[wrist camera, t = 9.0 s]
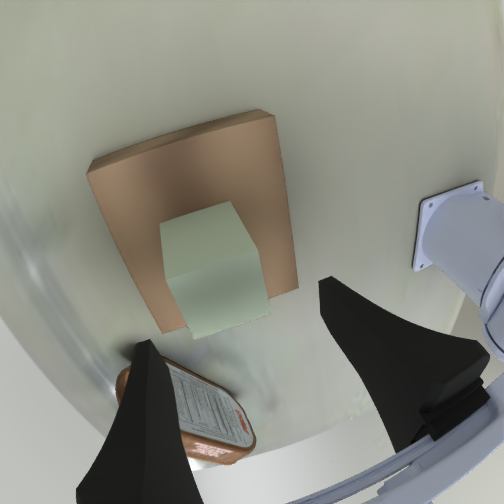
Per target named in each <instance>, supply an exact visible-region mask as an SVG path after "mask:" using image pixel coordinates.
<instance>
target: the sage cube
mask: <svg viewBox="0 0 504 504" xmlns="http://www.w3.org/2000/svg"><path fill="white" fill-rule="evenodd" d="M159 225H160V235H161V245H162V254H163V263H164V271H165V279H166V282H167V284H168V286H169V288H170V291H171V293H172V295H173V297H174V299H175V301H176V303H177V306H178V308H179V310H180V312H181V314H182V316H183V318H184V320H185V322H186V324H187V326H188V328H189V330H190V332H191V334H192V336H193V338H194V340H195V339H198V338H202V337H205V336H208V335H211V334H214V333H217V332H220V331H223V330H226V329H229V328H232V327H235V326H238V325H241V324H244V323H247V322H250V321H252V320H255V319H258V318H261V317H264V316H267V315H269V314H271V310H270V306H269V301H268V296H267V291H266V286H265V282H264V277H263V272H262V267H261V263H260V258H259V253H258V249H257V247H256V246H255V244H254V242H253V240H252V239H251V237H250V235H249V233H248V232H247V230H246V228H245V226H244V225H243V223H242V221H241V219H240V218H239V216H238V214H237V212H236V210H235V209H234V207H233V205H232V203H231V202H230V201H227V202H224V203H221V204H217V205H214V206H211V207H208V208H205V209H202V210H198V211H195V212H192V213H189V214H186V215H183V216H180V217H177V218H174V219H171V220H168V221H165V222H162V223H159Z"/></svg>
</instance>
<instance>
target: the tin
mask: <svg viewBox="0 0 504 504" xmlns="http://www.w3.org/2000/svg"><path fill="white" fill-rule="evenodd" d="M162 358H163V357H162ZM163 360H164V361H165V363H166V364H167V366H168V367H169V370H170V374H171V378H172V382H173V386H174V391H175V398H176V405H177V412H178V419H179V425H180V431H181V437H182V441H183V445H184V449H185V452H186V456H187V457H190V458H194V459H198V460H203V461H207V462H212V463H216V464H221V465H231V464H234V463H235V462H236V461H238V460H239V459H241V458H242V457H244V456H246V455H248V454H249V453H250V452H252V451H253V450H254V448H255V446H256V436H255V434H254V432H253V429H252V427H251V424H250V422H249V420H248V418H247V416H246V413H245V411H244V409H243V408H242V407H241V405H240V404H239V403H238V402H237V401H236V400H235V399H234V398H233V397H232V396H231V395H230V394H229V393H228V392H227V391H225V390H224V389H223V388H221V387H219V386H217V385H215V384H213V383H211V382H209V381H207V380H206V379H204V378H202V377H200V376H198V375H196V374H194V373H192V372H190V371H188V370H186V369H184V368H182V367H181V366H179V365H177V364H175V363H173V362H171V361H170V360H168V359H166V358H163ZM130 367H131V365H130V366H129V367H127V368H125V369H124V370H122V371H121V372H120V374H119V375H118V377H117V380H116V388H115V390H116V397H117V401H118V404H119V405H120V402H121V399H122V396H123V393H124V389H125V385H126V382H127V378H128V375H129V371H130Z"/></svg>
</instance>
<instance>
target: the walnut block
mask: <svg viewBox="0 0 504 504" xmlns="http://www.w3.org/2000/svg"><path fill="white" fill-rule="evenodd" d="M86 176H87V179H88V181H89V184H90V186H91V189H92V191H93V194H94V196H95V198H96V201H97V203H98V206H99V208H100V210H101V213H102V215H103V217H104V219H105V222H106V224H107V226H108V228H109V231H110V233H111V235H112V237H113V239H114V241H115V244H116V246H117V248H118V250H119V252H120V254H121V256H122V258H123V260H124V262H125V264H126V266H127V268H128V270H129V272H130V274H131V276H132V278H133V280H134V282H135V284H136V286H137V288H138V290H139V292H140V294H141V296H142V298H143V299H144V301H145V303H146V305H147V307H148V309H149V311H150V312H151V314H152V316H153V318H154V320H155V321H156V323H157V325H158V327H159V329H160V330H161V332H162V334H164V333H167V332H170V331H174V330H177V329H180V328H183V327H186V326H187V324H186V322H185V320H184V318H183V316H182V314H181V312H180V310H179V308H178V306H177V303H176V301H175V299H174V297H173V295H172V293H171V291H170V288H169V286H168V284H167V282H166V279H165V271H164V263H163V254H162V245H161V235H160V225H159V223H162V222H165V221H168V220H171V219H174V218H177V217H180V216H183V215H186V214H189V213H192V212H195V211H198V210H202V209H205V208H208V207H211V206H214V205H217V204H221V203H224V202H227V201H230V202H231V203H232V205H233V207H234V209H235V210H236V212H237V214H238V216H239V218H240V219H241V221H242V223H243V225H244V226H245V228H246V230H247V232H248V233H249V235H250V237H251V239H252V240H253V242H254V244H255V246H256V247H257V249H258V253H259V258H260V263H261V267H262V272H263V277H264V282H265V286H266V291H267V296H268V299H269V298H272V297H275V296H278V295H281V294H283V293H286V292H289V291H292V290H294V289H297V288H299V287H298V278H297V270H296V261H295V253H294V245H293V237H292V229H291V222H290V214H289V207H288V200H287V193H286V186H285V179H284V172H283V165H282V159H281V152H280V146H279V139H278V133H277V127H276V121H275V116H274V115H271V114H269V113H267V112H265V111H262V110H260V109H259V110H255V111H250V112H246V113H242V114H237V115H233V116H229V117H225V118H221V119H218V120H214V121H210V122H206V123H203V124H199V125H196V126H192V127H189V128H185V129H182V130H179V131H175V132H172V133H169V134H166V135H163V136H160V137H156V138H153V139H150V140H147V141H145V142H142V143H139V144H136V145H133V146H130V147H127V148H125V149H122V150H119V151H116V152H114V153H111V154H109V155H106V156H103V157H101V158H98V159H96V160H93V162H92V163H91V165H90V167H89V169H88V171H87V173H86Z"/></svg>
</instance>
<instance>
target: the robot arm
mask: <svg viewBox="0 0 504 504" xmlns="http://www.w3.org/2000/svg"><path fill="white" fill-rule="evenodd" d="M432 264H434V265H436V266H437V267H438V268H439V269H440V270H441V271H442V272H443V273H444V274H445V275H447V276H448V277H449V278H450V279H451V280H452V281H453V282H454V283H455V284H456V285H457V286H458V287H459V288H460V289H461V290H462V291H463V292H465V293H466V294H467V295H468V296H469V297H470V298H471V299H472V300H473V301H474V302H475V303H476V304H477V305H478V306H479V307H480V311H479V313H478V317H479V318H480V319H481V320H482V321H483V324H482V334H483V337H484V340H485V343H486V345H487V347H488V348H489V350H490V351H491V352H492V354H493V355H494V356H495V357H496V358H497V359H499V360H500V361H501V362H503V363H504V204H503V203H502V202H500V201H499V200H497V199H495V198H494V197H492V196H491V195H489V194H487V193H486V192H484V191H483V182H482V181H477V182H474V183H471V184H468V185H465V186H463V187H460V188H457V189H454V190H451V191H449V192H446V193H443V194H440V195H437V196H434V197H432V198H429V199H426V200H424V201H423V202H422V203H421V207H420V217H419V226H418V234H417V242H416V249H415V255H414V262H413V270H414V271H415V272H417V271H419V270H421V269H423V268H426V267H428V266H430V265H432ZM318 282H319V298H320V314H321V316H322V318H323V320H324V322H325V324H326V326H327V328H328V330H329V332H330V333H331V335H332V336H333V338H334V339H335V341H336V342H337V344H338V345H339V347H340V348H341V349H342V351H343V352H344V354H345V355H346V357H347V358H348V359H349V361H350V362H351V364H352V365H353V367H354V368H355V370H356V371H357V373H358V374H359V376H360V377H361V379H362V381H363V383H364V385H365V387H366V389H367V390H368V392H369V394H370V396H371V398H372V400H373V402H374V404H375V406H376V408H377V410H378V412H379V414H380V417H381V419H382V421H383V423H384V426H385V428H386V430H387V433H388V435H389V437H390V440H391V442H392V445H393V447H394V450H395V452H396V454H395V455H393V456H392V457H390V458H388V459H386V460H384V461H382V462H381V463H379V464H377V465H375V466H373V467H371V468H369V469H367V470H365V471H363V472H361V473H359V474H357V475H355V476H353V477H351V478H348V479H346V480H344V481H342V482H340V483H338V484H335V485H333V486H331V487H328V488H326V489H323V490H321V491H318V492H316V493H313V494H311V495H309V496H306V497H303V498H300V499H298V500H295V501H292V502H289V503H286V504H333V503H336V502H338V501H340V500H343V499H345V498H347V497H349V496H352V495H354V494H356V493H358V492H360V491H362V490H364V489H366V488H368V487H370V486H372V485H374V484H376V483H378V482H380V481H382V480H384V479H385V478H387V477H389V476H391V475H393V474H394V473H396V472H398V471H400V470H401V469H403V468H405V467H407V466H408V465H409V467H408V468H406V469H404V470H403V471H401V472H400V473H398V474H397V475H395V476H394V477H392V478H390V479H389V480H387V481H385V483H384V485H383V486H382V487H381V488H380V489H378V490H377V493H378V495H379V496H377V497H375V498H373V499H371V500H369V501H367V502H365V503H362V504H433V503H432V501H431V500H433V499H434V498H436V497H437V496H438V495H440V494H441V493H443V492H444V491H445V490H447V489H448V488H450V487H451V486H452V485H454V484H455V483H456V482H457V481H459V480H460V479H461V478H463V477H464V476H465V475H466V474H468V473H469V472H470V471H471V470H473V469H474V468H475V467H476V466H477V465H479V464H480V463H481V462H482V461H483V460H484V459H485V458H487V457H488V456H489V455H490V454H491V453H492V452H493V451H494V450H495V449H497V448H498V447H499V446H500V444H502V443H503V442H504V373H502V374H501V375H500V376H499V377H498V378H497V379H496V380H495V381H493V382H492V383H491V384H490V385H489V386H488V387H487V388H486V389H484V388H483V386H482V384H483V383H484V382H483V380H482V379H481V378H480V375H481V374H482V372H483V370H484V369H485V367H486V366H487V364H488V362H489V360H490V354H489V353H488V352H487V351H486V350H485V348H484V347H483V346H482V345H481V344H480V343H479V342H478V341H477V340H471V339H465V338H460V337H455V336H451V335H447V334H443V333H440V332H436V331H433V330H430V329H427V328H424V327H422V326H419V325H416V324H414V323H411V322H409V321H407V320H404V319H402V318H400V317H398V316H396V315H394V314H392V313H390V312H388V311H386V310H385V309H383V308H381V307H379V306H378V305H376V304H374V303H372V302H371V301H369V300H368V299H366V298H364V297H363V296H361V295H360V294H358V293H356V292H355V291H353V290H352V289H350V288H349V287H347V286H346V285H344V284H343V283H342V282H340V281H339V280H337V279H336V278H334V277H332V276H330V277H328V278H325V279H322V280H320V281H318ZM76 502H77V504H204V503H203V501H202V498H201V496H200V493H199V491H198V488H197V485H196V483H195V480H194V477H193V474H192V471H191V468H190V465H189V462H188V459H187V456H186V452H185V449H184V445H183V441H182V437H181V431H180V425H179V419H178V412H177V405H176V398H175V391H174V386H173V382H172V378H171V374H170V370H169V367H168V366H167V364H166V363H165V361H164V360H163V358H162V357H161V355H160V354H159V352H158V351H157V349H156V347H155V346H154V344H153V343H152V341H151V340H150V339H149V340H146V341H143V342H139V343H137V344H136V346H135V350H134V354H133V359H132V363H131V367H130V371H129V375H128V378H127V382H126V385H125V389H124V393H123V396H122V399H121V402H120V405H119V408H118V411H117V414H116V417H115V419H114V422H113V424H112V427H111V429H110V431H109V434H108V436H107V438H106V440H105V442H104V444H103V446H102V449H101V450H100V452H99V454H98V456H97V457H96V459H95V461H94V463H93V464H92V466H91V468H90V470H89V471H88V473H87V474H86V476H85V477H84V479H83V480H82V481H81V483H80V484H79V486H78V487H77V488H76Z"/></svg>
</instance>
